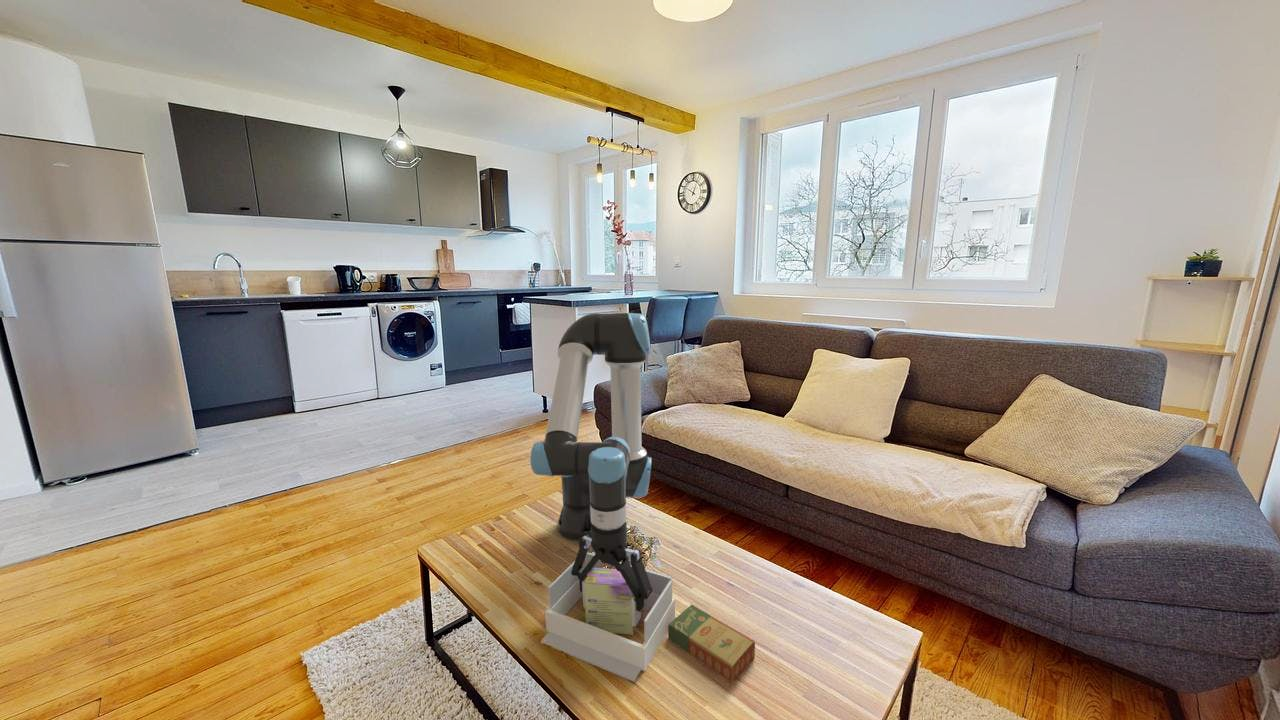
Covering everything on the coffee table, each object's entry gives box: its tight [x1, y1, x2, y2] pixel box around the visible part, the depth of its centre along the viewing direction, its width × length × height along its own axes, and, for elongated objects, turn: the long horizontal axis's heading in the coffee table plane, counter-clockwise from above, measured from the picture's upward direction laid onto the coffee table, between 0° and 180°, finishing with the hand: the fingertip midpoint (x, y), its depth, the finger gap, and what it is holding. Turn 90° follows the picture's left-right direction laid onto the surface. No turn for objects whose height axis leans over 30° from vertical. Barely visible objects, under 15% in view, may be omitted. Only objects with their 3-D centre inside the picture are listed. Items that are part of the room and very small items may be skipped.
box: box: [584, 568, 635, 636], centre depth 101 cm, size 10×6×12 cm, turn 84°
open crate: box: [541, 551, 676, 683], centre depth 99 cm, size 24×19×10 cm
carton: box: [667, 604, 756, 684], centre depth 95 cm, size 8×16×4 cm, turn 46°
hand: (611, 613), depth 101 cm, fingers closed on box, 11 cm apart
